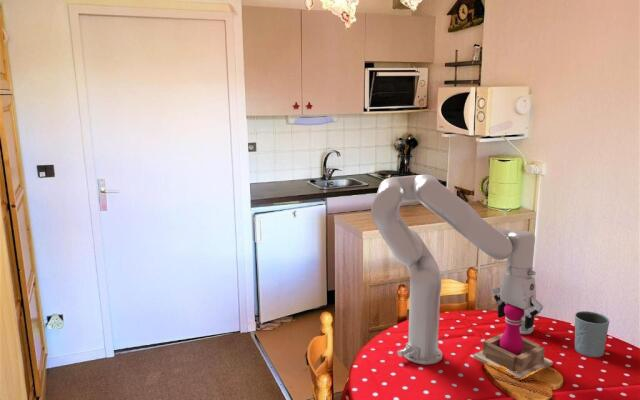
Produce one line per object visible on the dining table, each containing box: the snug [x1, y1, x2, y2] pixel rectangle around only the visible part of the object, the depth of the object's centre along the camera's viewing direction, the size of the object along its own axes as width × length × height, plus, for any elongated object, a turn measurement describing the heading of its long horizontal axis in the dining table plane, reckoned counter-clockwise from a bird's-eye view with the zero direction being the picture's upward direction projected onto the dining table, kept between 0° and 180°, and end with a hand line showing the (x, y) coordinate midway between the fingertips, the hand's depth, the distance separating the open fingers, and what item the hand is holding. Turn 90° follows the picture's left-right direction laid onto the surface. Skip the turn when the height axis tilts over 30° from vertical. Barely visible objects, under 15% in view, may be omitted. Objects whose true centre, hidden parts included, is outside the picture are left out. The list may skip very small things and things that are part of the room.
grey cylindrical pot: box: [574, 310, 610, 358], centre depth 165 cm, size 10×10×12 cm
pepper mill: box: [500, 303, 524, 356], centre depth 158 cm, size 7×7×20 cm
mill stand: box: [473, 332, 553, 378], centre depth 159 cm, size 17×17×6 cm
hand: (514, 322), depth 157 cm, fingers open, 9 cm apart
